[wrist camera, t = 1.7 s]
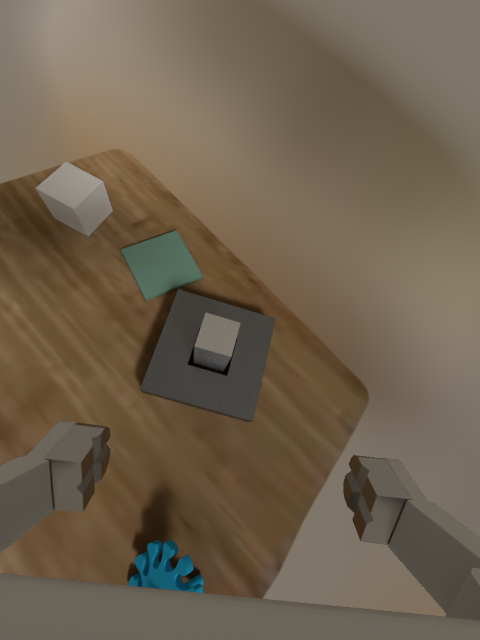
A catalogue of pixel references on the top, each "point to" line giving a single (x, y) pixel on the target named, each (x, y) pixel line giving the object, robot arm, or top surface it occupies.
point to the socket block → (202, 385)
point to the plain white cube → (75, 198)
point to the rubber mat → (161, 264)
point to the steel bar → (215, 343)
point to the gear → (164, 569)
